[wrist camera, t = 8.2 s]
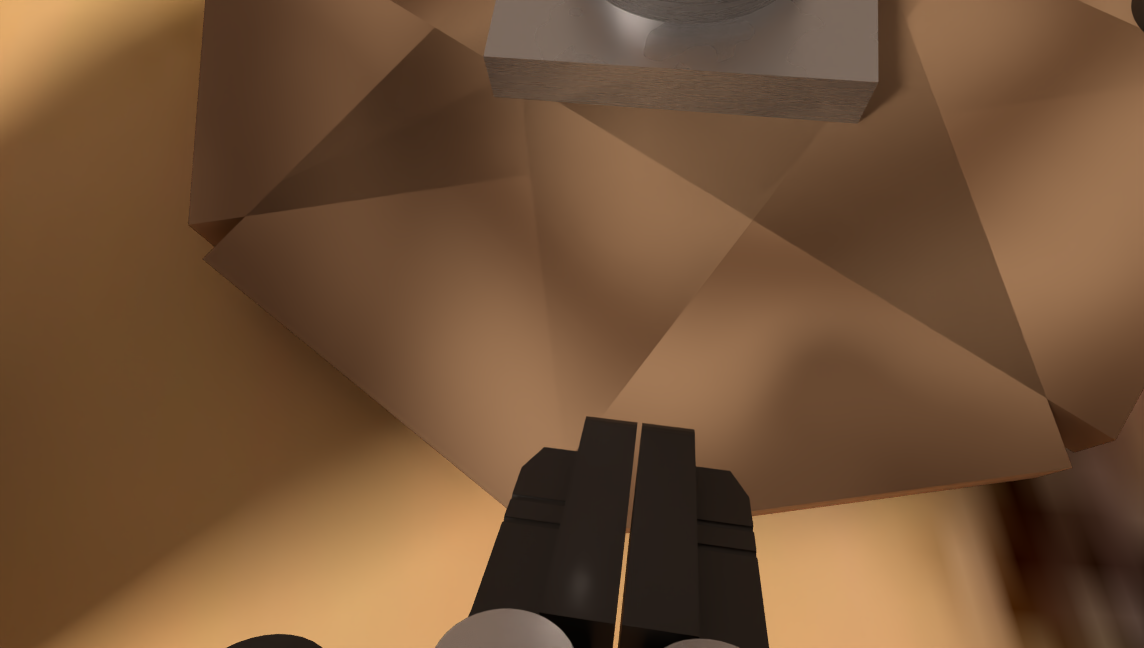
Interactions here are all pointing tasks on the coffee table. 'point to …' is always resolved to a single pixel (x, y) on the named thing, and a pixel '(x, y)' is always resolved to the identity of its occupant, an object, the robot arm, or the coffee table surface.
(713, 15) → the silver post on plate
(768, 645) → the robot arm
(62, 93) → the coffee table surface
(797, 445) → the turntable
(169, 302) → the coffee table surface
